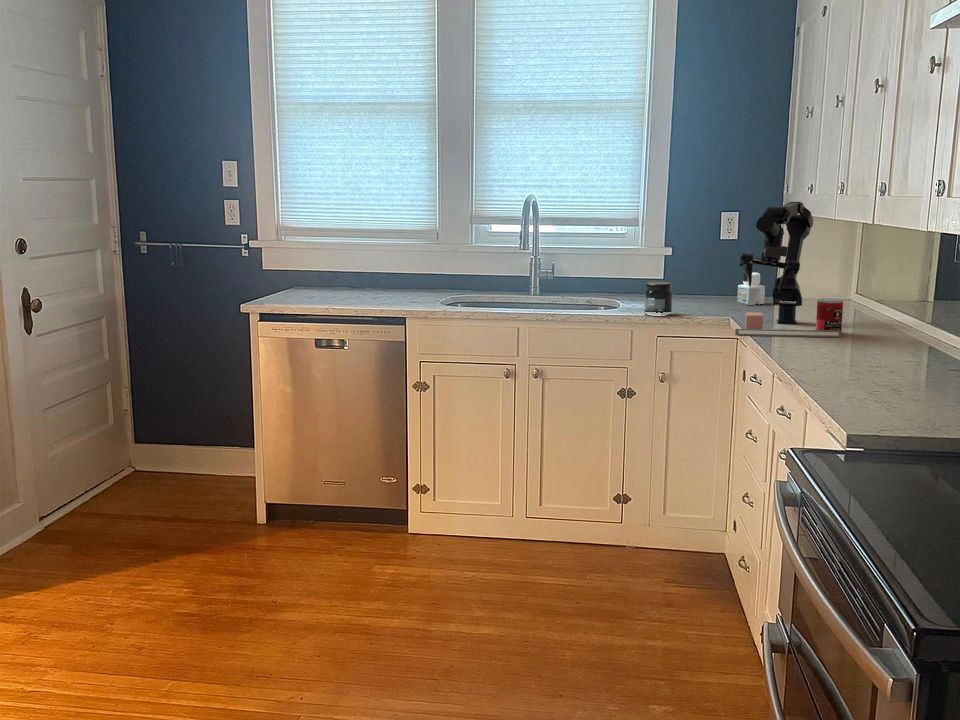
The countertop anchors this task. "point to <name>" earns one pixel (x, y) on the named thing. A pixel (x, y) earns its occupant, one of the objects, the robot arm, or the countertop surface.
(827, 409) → the countertop surface
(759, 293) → the container
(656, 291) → the supplement container
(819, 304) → the canned food
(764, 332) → the price rail
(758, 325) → the salmon pink block
